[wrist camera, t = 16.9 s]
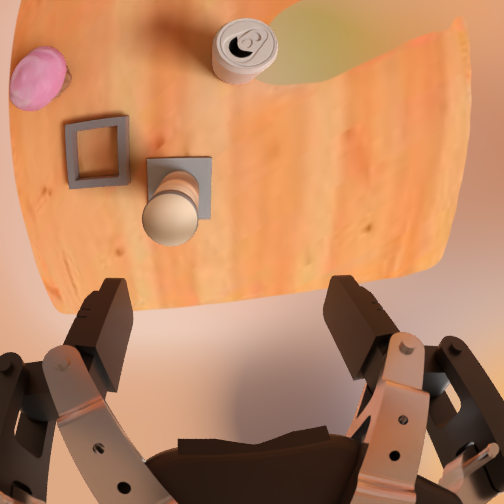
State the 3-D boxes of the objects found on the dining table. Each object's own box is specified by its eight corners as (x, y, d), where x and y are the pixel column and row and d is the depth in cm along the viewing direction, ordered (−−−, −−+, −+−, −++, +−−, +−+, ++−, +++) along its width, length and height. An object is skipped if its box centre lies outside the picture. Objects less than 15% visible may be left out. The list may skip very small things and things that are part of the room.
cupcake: (67, 42, 24) (32, 31, 15) (94, 76, 28) (61, 69, 19) (29, 86, 25) (-10, 87, 17) (54, 120, 29) (15, 127, 21)
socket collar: (69, 124, 30) (64, 125, 29) (129, 115, 32) (125, 116, 30) (73, 186, 35) (69, 189, 33) (130, 182, 36) (127, 185, 35)
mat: (147, 158, 35) (147, 159, 35) (211, 157, 36) (211, 157, 36) (150, 218, 39) (149, 219, 39) (210, 218, 41) (210, 219, 40)
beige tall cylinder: (159, 169, 36) (140, 193, 25) (200, 169, 37) (198, 193, 26) (159, 209, 38) (143, 247, 28) (199, 209, 39) (197, 247, 29)
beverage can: (202, 62, 30) (197, 40, 19) (238, 34, 28) (250, 4, 18) (233, 94, 33) (243, 85, 22) (269, 66, 31) (294, 48, 21)
